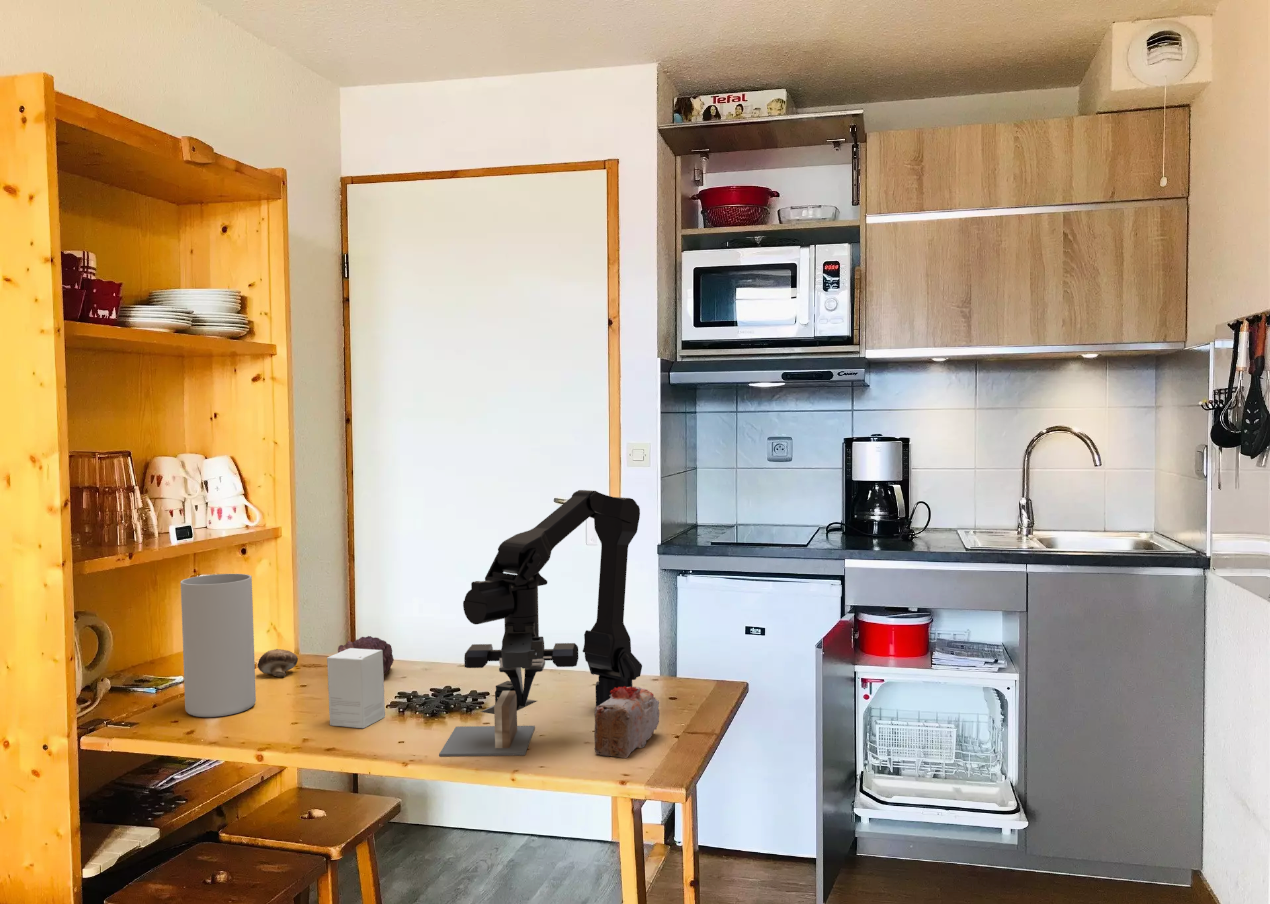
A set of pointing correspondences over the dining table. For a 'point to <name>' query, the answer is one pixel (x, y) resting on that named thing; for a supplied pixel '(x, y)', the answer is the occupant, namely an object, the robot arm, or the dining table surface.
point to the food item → (625, 721)
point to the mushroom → (277, 662)
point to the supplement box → (356, 687)
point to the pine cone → (374, 645)
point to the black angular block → (499, 688)
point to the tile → (505, 719)
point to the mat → (485, 742)
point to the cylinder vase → (218, 644)
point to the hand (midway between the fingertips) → (523, 705)
